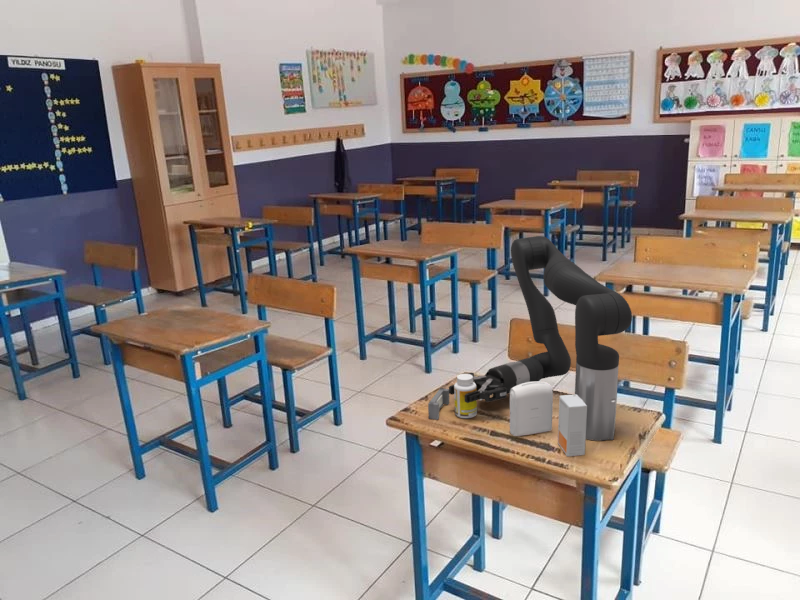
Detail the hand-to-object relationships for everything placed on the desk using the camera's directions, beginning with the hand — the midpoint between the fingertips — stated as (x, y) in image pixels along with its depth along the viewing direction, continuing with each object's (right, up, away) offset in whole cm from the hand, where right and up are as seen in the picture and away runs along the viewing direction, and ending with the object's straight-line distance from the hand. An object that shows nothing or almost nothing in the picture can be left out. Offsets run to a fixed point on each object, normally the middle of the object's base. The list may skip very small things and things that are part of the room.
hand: (457, 394), depth 155 cm
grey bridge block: (-5, -5, +6) cm, 9 cm away
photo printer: (+17, -8, -6) cm, 19 cm away
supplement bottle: (+2, -6, +3) cm, 7 cm away
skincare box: (+24, -10, -15) cm, 30 cm away
